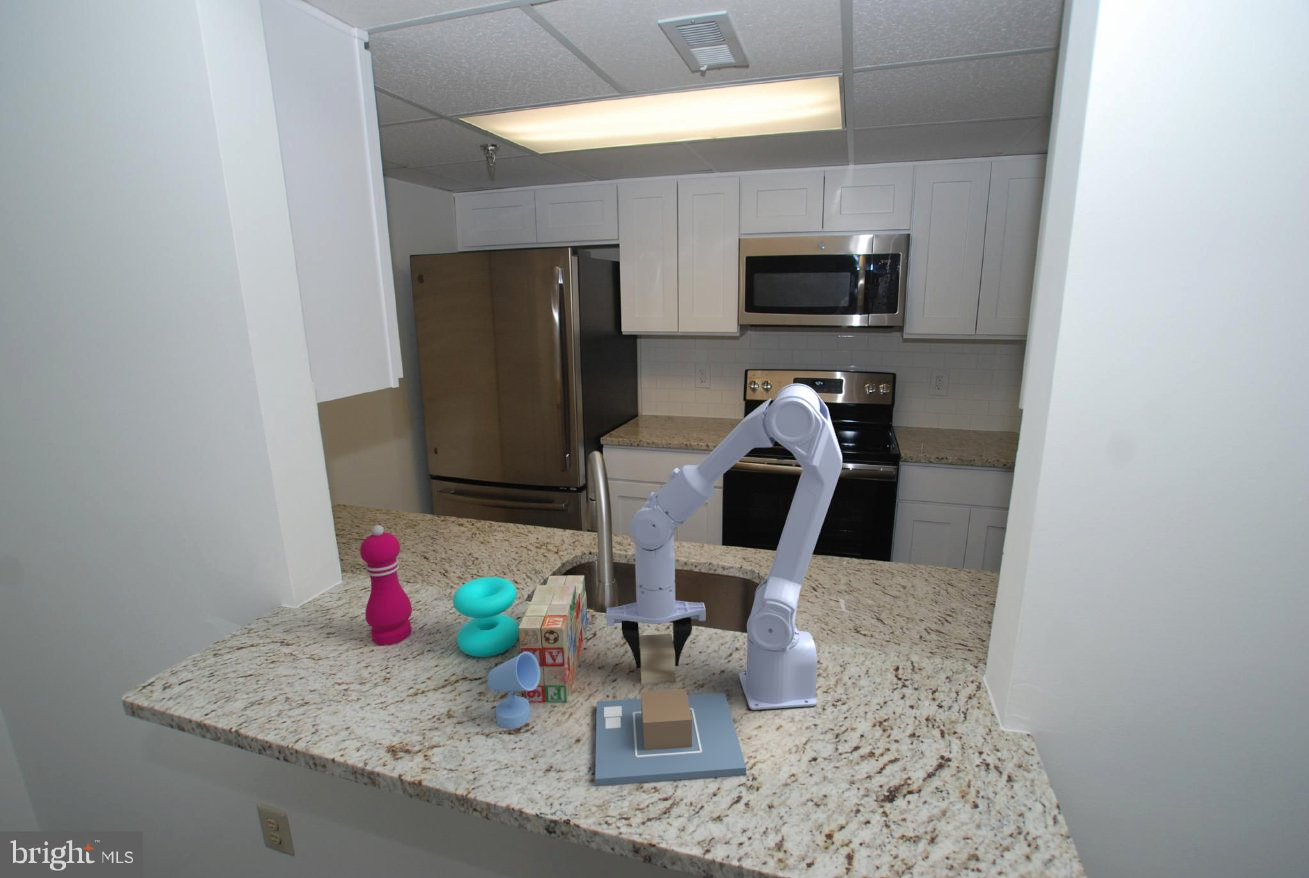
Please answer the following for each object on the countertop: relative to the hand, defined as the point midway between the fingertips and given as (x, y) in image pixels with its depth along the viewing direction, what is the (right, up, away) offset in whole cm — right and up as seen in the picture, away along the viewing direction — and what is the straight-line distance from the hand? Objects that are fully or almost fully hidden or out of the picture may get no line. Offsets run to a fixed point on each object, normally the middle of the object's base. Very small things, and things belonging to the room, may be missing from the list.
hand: (657, 663), depth 94 cm
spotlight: (-19, -4, -9) cm, 22 cm away
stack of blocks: (-15, -1, +5) cm, 16 cm away
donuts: (-28, 0, +9) cm, 29 cm away
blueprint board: (+1, -5, -13) cm, 14 cm away
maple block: (0, -2, 0) cm, 2 cm away
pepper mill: (-45, 0, +12) cm, 47 cm away
